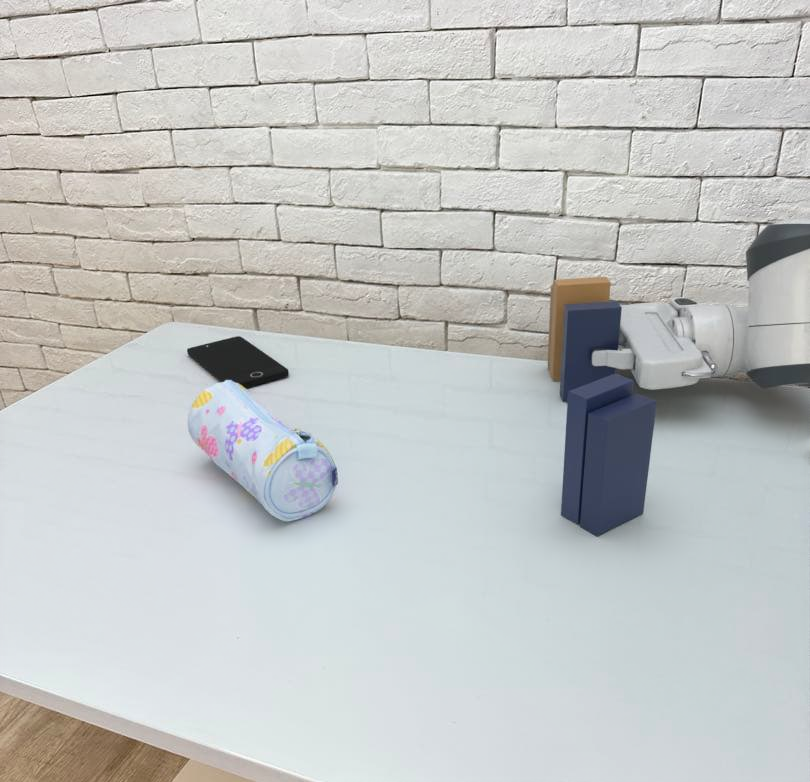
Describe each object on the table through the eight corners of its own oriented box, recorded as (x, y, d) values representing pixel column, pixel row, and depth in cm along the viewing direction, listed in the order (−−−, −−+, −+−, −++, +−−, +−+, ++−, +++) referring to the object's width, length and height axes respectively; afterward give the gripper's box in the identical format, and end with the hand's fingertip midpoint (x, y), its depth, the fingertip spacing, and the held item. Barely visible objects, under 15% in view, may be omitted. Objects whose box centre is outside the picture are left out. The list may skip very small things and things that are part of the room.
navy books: (605, 493, 90) (616, 372, 82) (643, 513, 86) (658, 388, 79) (559, 515, 87) (566, 391, 79) (597, 536, 83) (608, 409, 76)
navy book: (609, 391, 111) (617, 301, 105) (613, 399, 109) (621, 307, 103) (559, 394, 111) (564, 304, 105) (562, 402, 109) (568, 310, 103)
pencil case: (346, 509, 90) (337, 428, 85) (273, 538, 86) (259, 454, 81) (257, 440, 105) (245, 367, 99) (190, 462, 101) (174, 387, 95)
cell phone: (232, 392, 117) (231, 385, 116) (186, 354, 130) (185, 348, 129) (290, 376, 121) (289, 369, 120) (240, 341, 134) (239, 335, 133)
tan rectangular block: (595, 364, 119) (602, 271, 112) (602, 378, 115) (610, 282, 108) (546, 367, 119) (550, 274, 112) (552, 381, 115) (557, 285, 108)
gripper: (718, 399, 100) (600, 405, 101) (674, 338, 117) (573, 343, 118) (726, 348, 97) (603, 354, 97) (680, 292, 114) (575, 298, 114)
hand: (586, 348), depth 108 cm, fingers open, 5 cm apart
